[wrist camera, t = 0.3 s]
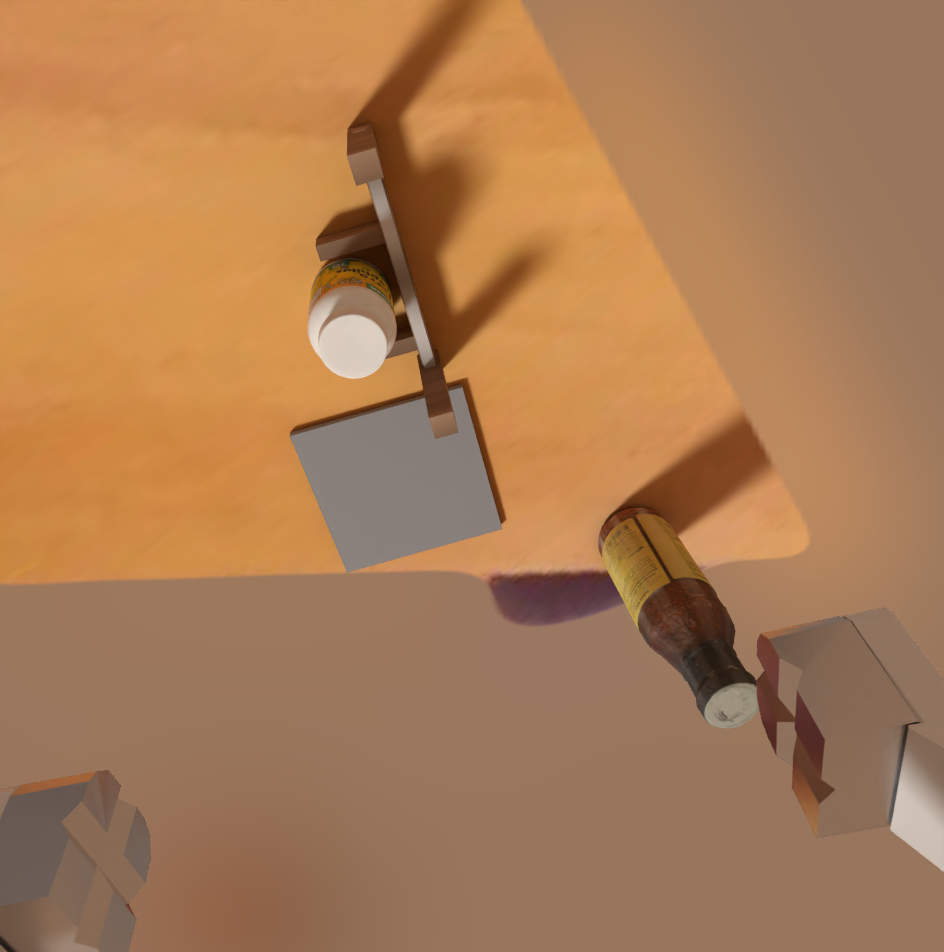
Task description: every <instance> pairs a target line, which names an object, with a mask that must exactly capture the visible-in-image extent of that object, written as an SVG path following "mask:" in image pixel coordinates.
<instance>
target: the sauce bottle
mask: <svg viewBox="0 0 944 952" xmlns="http://www.w3.org/2000/svg"><path fill="white" fill-rule="evenodd" d="M598 542H599V552H600V554H601V556H602V559H603V562H604V565H605V567H606V568H607V570H608V572H609V574H610V576H611V578H612V580H613V582H614V584H615V586H616V587H617V589H618V591H619V593H620V595H621V597H622V599H623V601H624V603H625V605H626V606H627V608H628V610H629V612H630V614H631V616H632V618H633V620H634V622H635V624H636V626H637V628H638V629H639V631H640V633H641V635H642V637H643V638H644V640H645V641H646V642H647V644H648V645H649V646H650V647H651V648H652V649H653V650H654V651H655V652H657V653H658V654H660V655H661V656H662V657H663V658H665V659H666V660H667V661H668V662H669V663H670V664H671V665H672V666H673V667H674V668H675V669H677V670H678V671H679V672H680V673H681V674H682V676H683V677H684V679H685V681H687V682H688V684H689V686H690V688H691V690H692V691H693V693H694V695H695V697H696V702H697V707H698V709H699V711H700V712H701V714H702V715H703V717H704V718H705V720H706V721H707V722H708V723H709V724H711V725H713V726H715V727H720V728H734V727H738V726H740V725H743V724H745V723H746V722H748V721H749V720H750V719H752V718H753V717H754V716H755V715H756V714H757V712H758V711H759V706H758V701H757V684H756V680H755V678H754V677H753V676H752V675H751V674H750V673H749V672H747V671H746V670H745V668H744V667H743V665H742V664H741V662H740V660H739V659H738V658H737V654H736V652H735V650H734V649H733V643H734V636H735V628H734V624H733V622H732V620H731V618H730V616H729V614H728V612H727V610H726V607H724V606H723V604H722V603H721V602H720V600H719V598H718V597H717V594H716V592H715V590H714V589H713V587H712V586H711V584H710V583H709V582H708V580H707V578H706V577H705V576H704V574H703V573H702V571H701V570H700V568H699V567H698V565H697V564H696V563H695V561H694V560H693V558H692V557H691V555H690V554H689V552H688V551H687V549H686V548H685V546H684V545H683V543H682V542H681V540H680V539H679V537H678V536H677V534H676V533H675V531H674V530H673V528H672V527H671V525H670V524H669V523H668V522H667V521H665V520H664V519H663V518H662V517H661V516H660V515H659V514H658V513H657V512H656V511H654V510H652V509H648V508H628V509H624V510H622V511H620V512H618V513H616V514H615V515H613V517H612V518H611V519H609V520H608V521H607V522H606V523H605V525H604V526H603V527H602V529H601V531H600V535H599V540H598Z"/></svg>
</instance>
